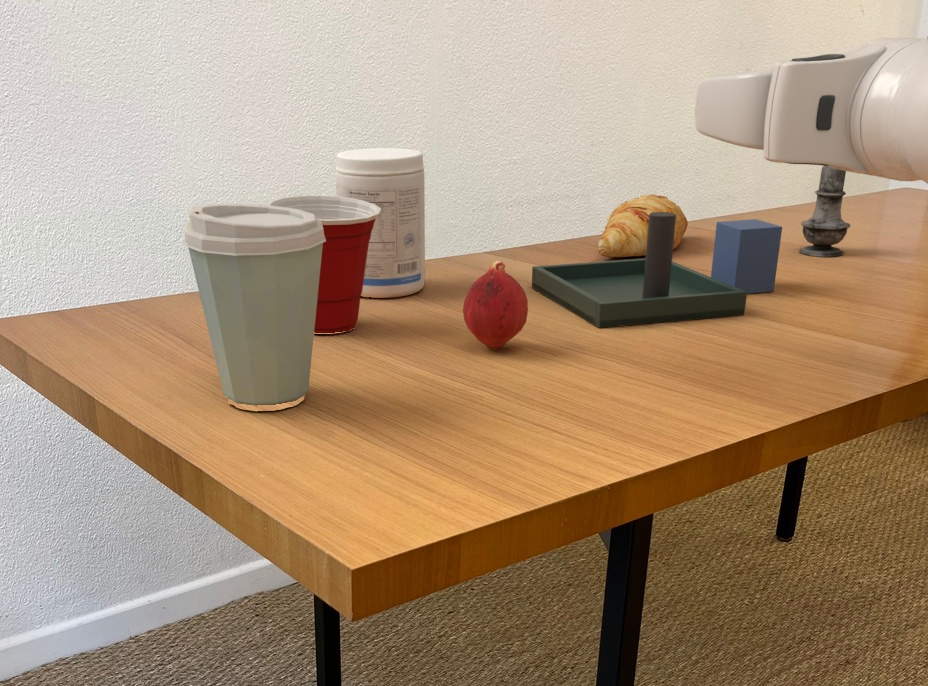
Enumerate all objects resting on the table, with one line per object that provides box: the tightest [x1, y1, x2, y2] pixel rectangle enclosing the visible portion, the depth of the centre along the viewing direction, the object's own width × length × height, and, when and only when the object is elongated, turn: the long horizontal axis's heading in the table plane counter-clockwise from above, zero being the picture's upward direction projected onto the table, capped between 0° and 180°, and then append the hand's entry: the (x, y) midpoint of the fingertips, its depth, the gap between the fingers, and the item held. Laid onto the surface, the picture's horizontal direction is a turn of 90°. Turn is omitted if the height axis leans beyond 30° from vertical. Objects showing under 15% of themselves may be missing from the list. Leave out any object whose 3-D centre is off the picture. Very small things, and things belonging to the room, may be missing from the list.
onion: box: [462, 260, 529, 350], centre depth 94 cm, size 6×6×8 cm
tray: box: [531, 212, 748, 329], centre depth 110 cm, size 16×18×10 cm
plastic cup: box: [266, 195, 381, 333], centre depth 101 cm, size 11×11×12 cm
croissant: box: [597, 194, 689, 258], centre depth 135 cm, size 21×10×8 cm, turn 142°
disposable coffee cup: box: [183, 203, 326, 406], centre depth 81 cm, size 11×11×15 cm
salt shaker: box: [799, 165, 851, 258], centre depth 131 cm, size 6×6×12 cm
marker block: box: [710, 218, 783, 295], centre depth 115 cm, size 5×5×7 cm
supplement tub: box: [335, 147, 426, 299], centre depth 115 cm, size 10×10×15 cm
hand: (774, 96), depth 84 cm, fingers open, 8 cm apart
